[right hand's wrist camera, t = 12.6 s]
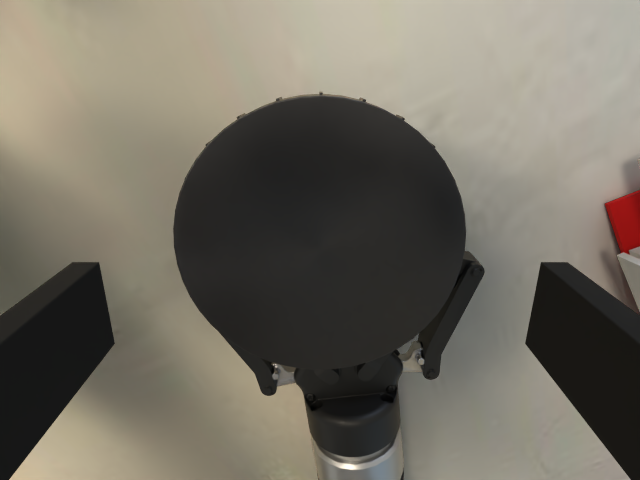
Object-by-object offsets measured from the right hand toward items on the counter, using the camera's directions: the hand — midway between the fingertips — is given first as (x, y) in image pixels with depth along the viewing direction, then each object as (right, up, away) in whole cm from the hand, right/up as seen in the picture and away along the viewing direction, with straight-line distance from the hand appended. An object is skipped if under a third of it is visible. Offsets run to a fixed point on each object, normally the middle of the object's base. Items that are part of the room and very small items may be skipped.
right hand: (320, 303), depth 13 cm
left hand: (0, +6, +16) cm, 17 cm away
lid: (0, +2, +4) cm, 5 cm away
